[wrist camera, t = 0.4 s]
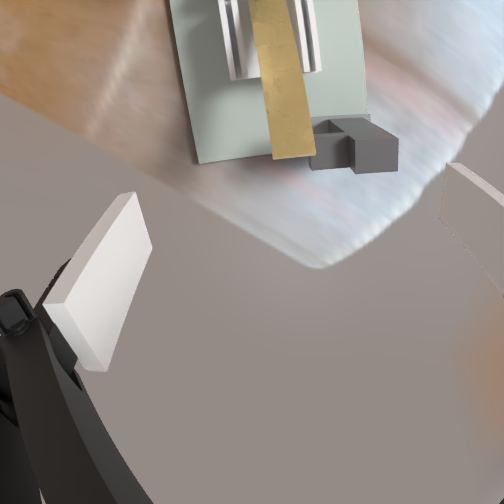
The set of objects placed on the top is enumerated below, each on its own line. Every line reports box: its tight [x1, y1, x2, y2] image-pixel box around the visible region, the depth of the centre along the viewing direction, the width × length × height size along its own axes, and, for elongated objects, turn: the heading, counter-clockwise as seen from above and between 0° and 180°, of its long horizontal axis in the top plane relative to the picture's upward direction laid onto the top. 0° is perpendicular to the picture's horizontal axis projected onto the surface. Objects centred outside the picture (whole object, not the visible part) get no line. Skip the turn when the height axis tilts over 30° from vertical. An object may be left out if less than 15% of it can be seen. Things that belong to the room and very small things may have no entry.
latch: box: [309, 118, 399, 174], centre depth 29 cm, size 3×8×10 cm, turn 98°
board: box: [170, 0, 370, 164], centre depth 26 cm, size 22×20×8 cm
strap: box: [248, 0, 316, 160], centre depth 21 cm, size 19×4×1 cm, turn 10°
